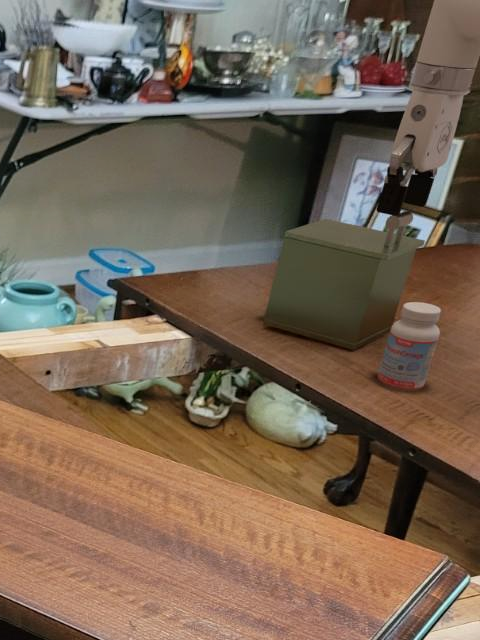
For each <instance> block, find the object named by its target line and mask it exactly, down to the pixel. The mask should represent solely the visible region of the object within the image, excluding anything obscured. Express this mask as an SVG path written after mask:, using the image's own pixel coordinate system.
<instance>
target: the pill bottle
mask: <svg viewBox="0 0 480 640" xmlns="http://www.w3.org/2000/svg"><path fill="white" fill-rule="evenodd" d="M441 313H442V309H441V308H440V307H439V306H437V305H434V304H431V303H427V302H421V301H420V302H419V301H411V302H406V303H404V304H403V305H402V308H401V311H400V317H401V319H398V320H396V321H395V322H393V324H392V327H391V331H390V332H389V334H388V338H387V342H386V346H385V349H384V353H383V356H382V359H381V362H380V363H381V364H380V366H379V371H378V374H377V379H378V380H379V381H380V382H382V383H384V384H387V385H389V386H393V387H396V388H400V389H408V390H420V389H422V388H424V386H425V385H426V380H427V377H428V374H429V372H430V367H431V365H432V361H433V359H434V355H435V351H436V348H437V345H438V342H439V339H440V334H441V331H440V329H439V327H438V325H436V323H437V322H438V321H439V319H440V315H441Z"/></svg>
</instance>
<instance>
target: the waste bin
mask: <svg viewBox="0 0 480 640" xmlns="http://www.w3.org/2000/svg"><path fill="white" fill-rule="evenodd" d="M416 250H417V248H416V249H414V250H411V251H409V252H406V253H404V254H401V255H399V256H397V257H394V258H392V259H389V260H382V259H378V258H374V257H369V256H365V255H361V254H356V253H352V252H348V251H344V250H339V249H335V248H331V247H327V246H322V245H318V244H314V243H309V242H305V241H301V240H297V239H292V238H288V237H285V236H284V237H283V240H282V244H281V248H280V252H279V256H278V260H277V264H276V268H275V272H274V276H273V280H272V284H271V287H270V293H269V297H268V301H267V304H266V309H265V313H264V317H263V320H262V325H264V326H268V327H271V328H275V329H279V330H282V331H286V332H289V333H292V334H296V335H300V336H302V337H306V338H309V339H312V340H313V339H314V340H317V341H320V342H323V343H327V344H330V345H334V346H338V347H341V348H345V349H349V350H352V351H354V350H357V349H358V348H360V347H363V346H365V345H367V344H369V343H370V342H372V341H374V340H377V339H379V338H380V337H382V336H384V335H385V334H388V333H390V331H391V328H392V326H393V324H394V321H395V318H396V315H397V311H398V308H399V305H400V302H401V299H402V296H403V292H404V289H405V286H406V282H407V280H408V277H409V272H410V269H411V266H412V263H413V260H414V257H415V254H416Z"/></svg>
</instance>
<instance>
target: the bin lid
mask: <svg viewBox="0 0 480 640" xmlns="http://www.w3.org/2000/svg"><path fill="white" fill-rule="evenodd" d="M413 221H414V214H413V213H412V212H411V211H409V210H404V211H401V212H400V214H399V215H398V216H393V215H389V216H388V217H387V218H386V221H385V227H386V228H387V229H388V231H383V230H379V229H375V228H370V227H366V226H361V225H356V224H353V223H347V222H343V221H338V220H333V219H329V218H323V219H321V220H318V221H314V222H311V223H308V224H304V225H302V226H298V227H295V228H292V229H288V230H286V231H284V232H285V233H284V237H288V238H292V239H297V240H301V241H305V242H309V243H314V244H318V245H322V246H327V247H331V248H335V249H339V250H344V251H348V252H352V253H356V254H361V255H365V256H369V257H374V258H378V259H382V260H389V259H392V258H394V257H397V256H399V255H401V254H404V253H406V252H409V251H411V250H414V249H416V250H417V249H418V248H420V247H421V248H422V247H423V246H424V245H425V242H426V240H424V239H420V238H415V237H411V236H407V235H404V234H405V231H406V226H409V225H410V224H412V222H413ZM397 229H398V230H397ZM396 230H397V232H396V233H395V231H396Z"/></svg>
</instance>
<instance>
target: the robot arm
mask: <svg viewBox="0 0 480 640" xmlns="http://www.w3.org/2000/svg"><path fill="white" fill-rule="evenodd" d="M419 47H420V48H419V51H418V55H417V57H416V61H415V65H414V67H413V71H412V74H411V78H410V81H409V85H408V89H410V90H412V92H411V94H410V97H409V100H408V102H407V104H406V107H405V110H404V112H403V116H402V119H401V120H400V124H399V127H398V130H397V133H396V136H395V139H394V142H393V146H392V150H391V154H390V156H389V164H388V165H389V166H388V167H387V168H386V175H385V177H384V180H383V185H382V189H381V193H380V195H379V196H380V197H379V199H378V203H377V206H376V213H380V214H383V215H389V216H392V215H393V216H398V215H399V214H400V213H401V212H402V208H403V206H404V204H407V205H411V206H415V207H420V208H423V207H426V206H427V203H428V200H429V197H430V194H431V191H432V188H433V184H434V181H435V177H436V176H437V174H438V168H440V167H442V166H444V165H445V164H446V163H447V161H448V159H449V155H450V152H451V148H452V145H453V141H454V138H455V135H456V130H457V127H458V123H459V120H460V115H461V110H462V107H463V101H464V97H465V96H467V95H468V93H469V90H470V87H471V84H472V82H473V78H474V74H475V71H476V68H477V67H478V66H477V65H478V63H479V59H480V0H433V3H432V7H431V10H430V14H429V17H428V20H427V23H426V28H425V30H424V34H423V38H422V41H421V45H420V46H419ZM404 171H405V172H404Z"/></svg>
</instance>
